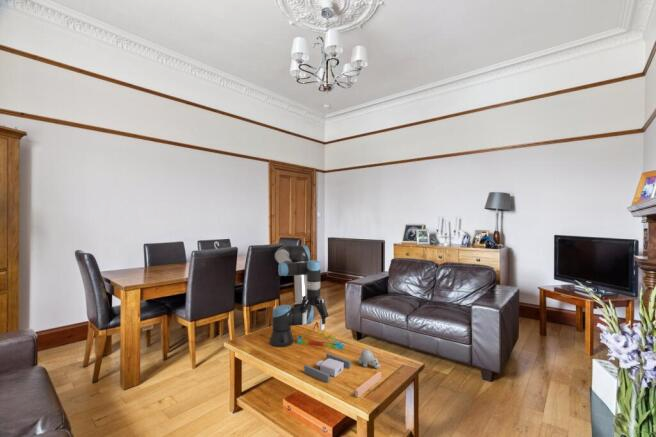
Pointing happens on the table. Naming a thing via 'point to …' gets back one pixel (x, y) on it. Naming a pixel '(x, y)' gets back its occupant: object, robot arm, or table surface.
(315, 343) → the chart
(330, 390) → the table surface
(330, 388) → the table surface
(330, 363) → the charger
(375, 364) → the chubby cartoon animal
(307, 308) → the robot arm
